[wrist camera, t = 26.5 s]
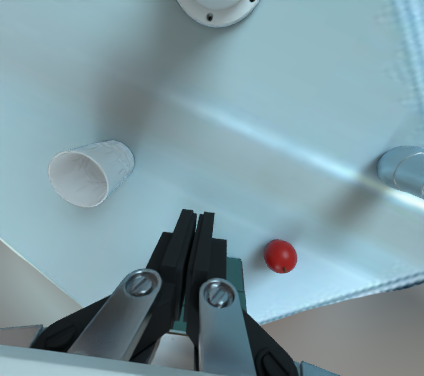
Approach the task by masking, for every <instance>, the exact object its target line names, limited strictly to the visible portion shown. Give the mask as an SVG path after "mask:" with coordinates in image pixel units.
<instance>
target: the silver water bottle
mask: <svg viewBox="0 0 424 376" xmlns="http://www.w3.org/2000/svg"><path fill="white" fill-rule="evenodd" d="M377 173H378V176H379V178H380V179H381V180H382V181H383V182H384V183H385V184H386V185H388V186H389V187H392V188H394V189H397V190H400V191H404V192H407V193H410V194H412V195H415V196H417V197H419V198H422V199H424V149H423V148H420V147H414V146H400V147H396V148H394V149H392V150H390V151H388V152H387V153H385V154H384V155H383V156H382V157H381V159H380V160H379V163H378V166H377Z"/></svg>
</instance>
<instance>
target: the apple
mask: <svg viewBox="0 0 424 376" xmlns="http://www.w3.org/2000/svg"><path fill="white" fill-rule="evenodd" d="M264 260H265V263H266V264H267V266H268V267H269V268H270V269H271V270H272V271H274V272H276V273H287V272H290V271H291V270H292V269H293V268H294V267H295V265H296V263H297V254H296V251H295V249H294V248H293V246H292V245H291V244H289V243H288V242H286V241H283V240H278V239H277V240H273V241H271V242H270V243H269V244H268V245H267V246H266V248H265V251H264Z"/></svg>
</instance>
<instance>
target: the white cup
mask: <svg viewBox="0 0 424 376" xmlns="http://www.w3.org/2000/svg"><path fill="white" fill-rule="evenodd" d="M133 168H134V156H133V155H132V153H131V151H130V149H129V148H128V147H126V146H125V145H124V144H123V143H121V142H118V141H114V140H109V141H104V142H97V143H93V144H89V145H85V146H81V147H78V148H74V149H70V150H66V151H63V152H60V153H58V154H56V155H55V156H54V157H53V158H52V159H51V161H50V163H49V167H48V175H49V180H50V182H51V185H52V186H53V188H54V190H55V191H56V192H57V193H58V194H59V195H60V196H61V197H62V198H63V199H64V200H66V201H67V202H69V203H71V204H73V205H75V206H79V207H94V206H97V205H99V204H101V203H102V202H103V201H104V200H105V199H106V198H107V197H108V196H109V195H110V194H111V193H112V192H113V191H114V190H115V189H116V188H117V187H118V186H119V185H120V184H121V183H122V182H123V181H124V180H125V179H126V177H127V176H128V175H130V174H131V173H132V170H133Z"/></svg>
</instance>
